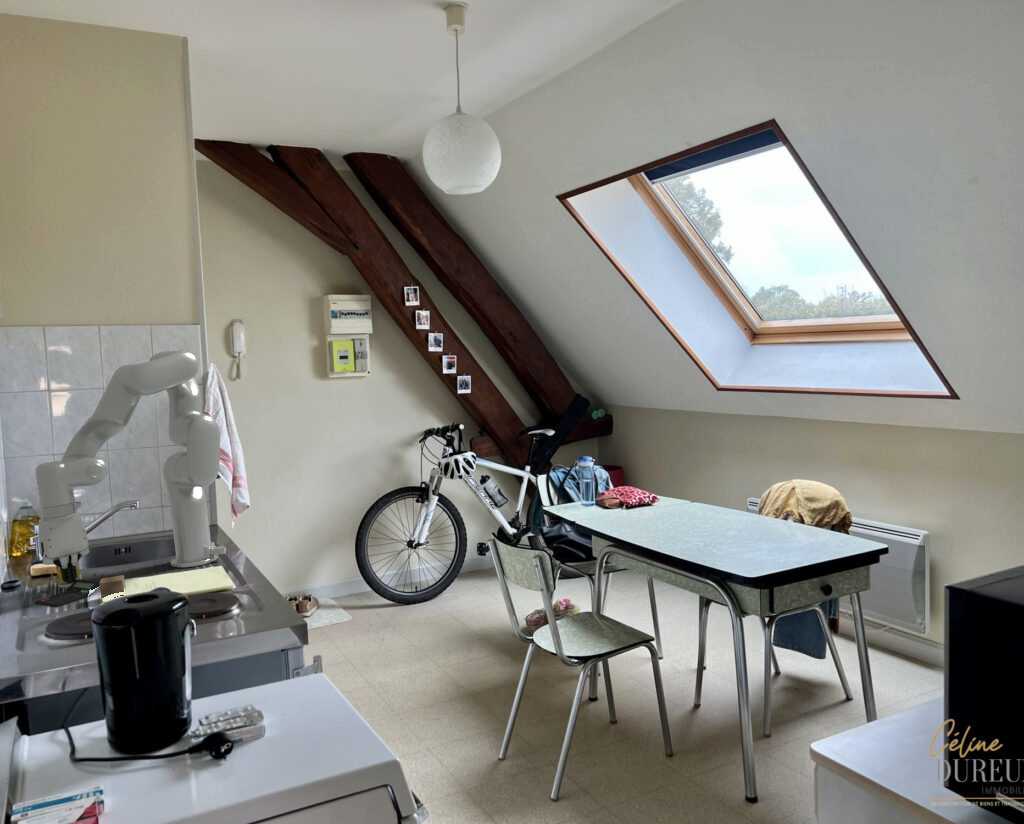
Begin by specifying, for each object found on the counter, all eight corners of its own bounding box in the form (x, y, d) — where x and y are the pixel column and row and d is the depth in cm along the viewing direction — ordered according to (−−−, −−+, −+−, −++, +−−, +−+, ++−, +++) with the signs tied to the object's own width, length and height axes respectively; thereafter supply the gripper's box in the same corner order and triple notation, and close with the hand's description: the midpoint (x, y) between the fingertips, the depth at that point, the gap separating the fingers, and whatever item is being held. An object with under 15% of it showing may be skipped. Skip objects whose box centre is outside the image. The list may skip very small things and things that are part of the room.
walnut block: (126, 594, 199) (123, 574, 199) (124, 599, 194) (122, 579, 194) (103, 598, 197) (101, 578, 197) (101, 603, 193) (99, 583, 192)
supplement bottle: (80, 585, 210) (75, 550, 209) (57, 589, 208) (52, 553, 207) (82, 580, 215) (78, 545, 214) (60, 584, 213) (55, 549, 212)
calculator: (35, 604, 197) (34, 592, 196) (79, 590, 207) (78, 578, 207) (58, 608, 192) (57, 596, 192) (102, 593, 202) (101, 581, 202)
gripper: (83, 502, 206) (93, 571, 208) (20, 517, 194) (32, 589, 196) (96, 505, 201) (107, 574, 203) (32, 519, 189) (44, 593, 191)
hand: (70, 581), depth 200 cm, fingers closed
